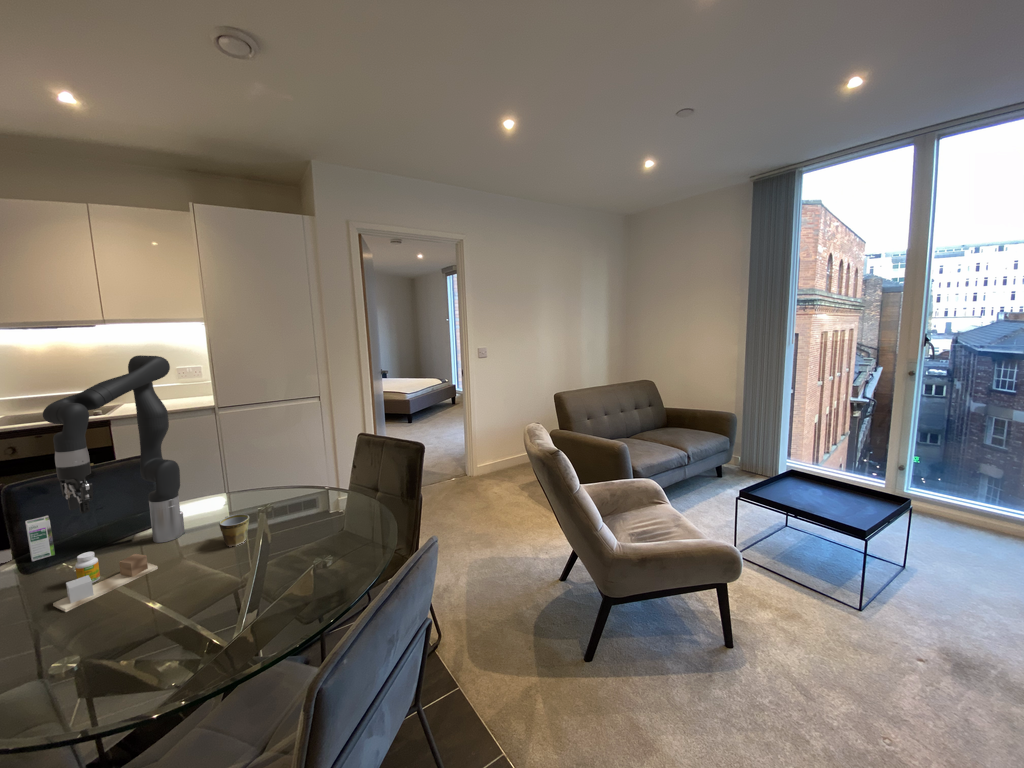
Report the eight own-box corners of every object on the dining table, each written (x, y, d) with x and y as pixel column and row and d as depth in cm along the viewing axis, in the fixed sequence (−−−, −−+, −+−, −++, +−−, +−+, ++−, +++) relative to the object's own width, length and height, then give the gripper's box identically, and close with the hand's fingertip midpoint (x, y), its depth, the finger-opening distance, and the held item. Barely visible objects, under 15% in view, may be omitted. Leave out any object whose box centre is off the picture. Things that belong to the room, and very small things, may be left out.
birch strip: (145, 564, 147) (145, 561, 147) (157, 568, 145) (157, 566, 144) (53, 606, 125) (52, 603, 124) (65, 612, 122) (65, 609, 122)
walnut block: (136, 566, 144) (134, 553, 143) (147, 568, 143) (146, 555, 142) (120, 574, 139) (119, 561, 138) (132, 576, 138) (130, 563, 137)
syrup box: (31, 562, 147) (26, 525, 145) (30, 556, 150) (24, 520, 148) (55, 555, 151) (49, 519, 149) (53, 549, 155) (48, 514, 153)
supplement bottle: (85, 587, 134) (81, 560, 132) (73, 584, 135) (69, 558, 133) (104, 577, 139) (101, 551, 138) (92, 575, 140) (89, 549, 139)
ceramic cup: (255, 541, 164) (253, 518, 163) (227, 552, 156) (226, 528, 155) (240, 531, 171) (238, 509, 170) (213, 542, 163) (211, 519, 161)
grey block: (90, 589, 131) (88, 574, 131) (93, 595, 129) (91, 580, 128) (68, 597, 127) (65, 582, 127) (70, 603, 124) (68, 588, 124)
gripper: (100, 462, 132) (106, 510, 134) (76, 456, 137) (82, 502, 139) (69, 469, 125) (76, 519, 127) (44, 463, 130) (52, 511, 132)
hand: (79, 510), depth 133 cm, fingers open, 6 cm apart
